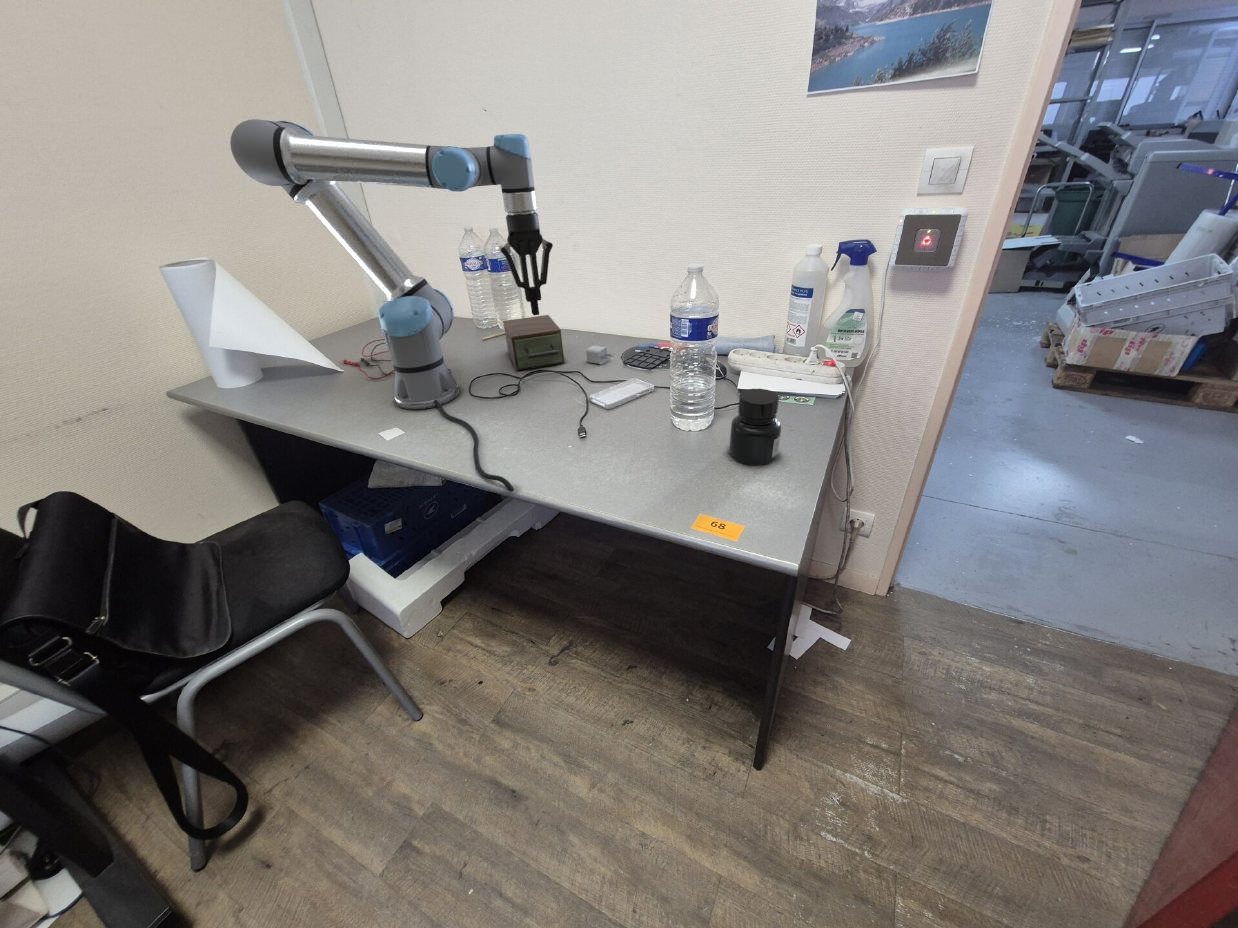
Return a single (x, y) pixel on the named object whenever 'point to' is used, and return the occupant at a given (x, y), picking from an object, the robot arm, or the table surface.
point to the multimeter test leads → (372, 359)
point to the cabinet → (529, 333)
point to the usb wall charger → (597, 354)
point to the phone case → (621, 393)
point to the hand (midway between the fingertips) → (535, 313)
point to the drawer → (538, 350)
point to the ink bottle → (756, 427)
